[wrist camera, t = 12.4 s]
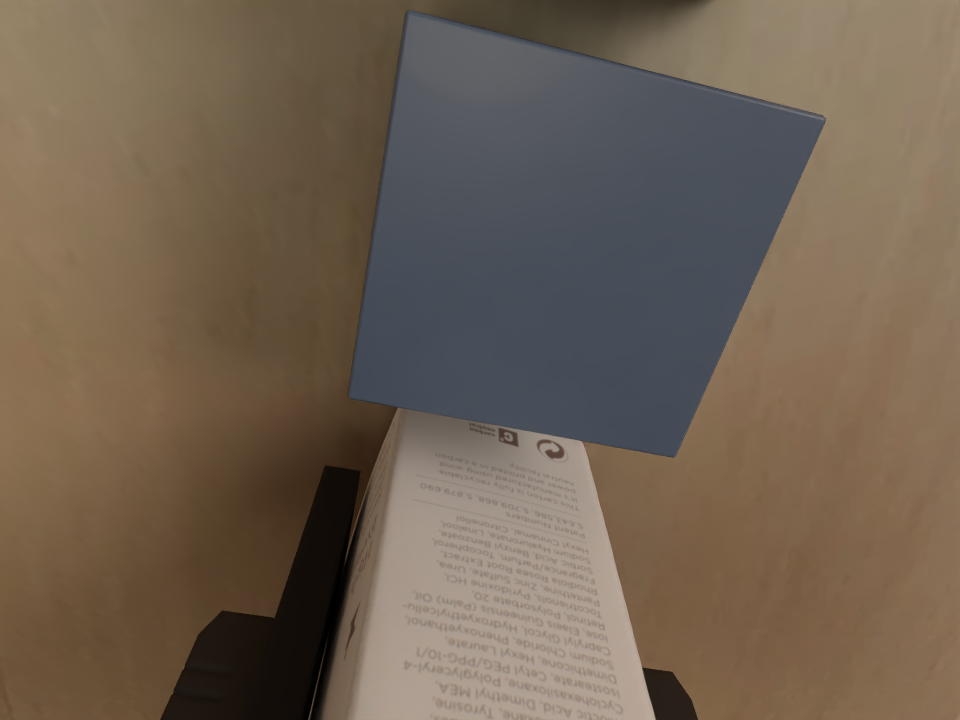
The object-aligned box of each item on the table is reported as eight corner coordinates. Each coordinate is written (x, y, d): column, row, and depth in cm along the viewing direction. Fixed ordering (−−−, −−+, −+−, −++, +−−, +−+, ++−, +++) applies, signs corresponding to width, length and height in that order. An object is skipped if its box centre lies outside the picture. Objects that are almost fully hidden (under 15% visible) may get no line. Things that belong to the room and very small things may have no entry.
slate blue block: (693, 85, 12) (829, 117, 7) (610, 324, 14) (675, 459, 10) (429, 18, 11) (404, 9, 7) (386, 278, 13) (346, 399, 9)
